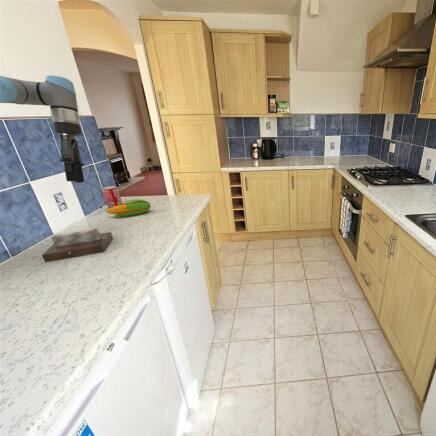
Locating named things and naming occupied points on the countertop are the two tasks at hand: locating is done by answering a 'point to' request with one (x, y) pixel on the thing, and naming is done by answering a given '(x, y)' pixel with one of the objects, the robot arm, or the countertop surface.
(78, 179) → the robot arm
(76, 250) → the base
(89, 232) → the grey bar
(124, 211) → the corn
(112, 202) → the soda can
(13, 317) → the countertop surface
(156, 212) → the countertop surface
